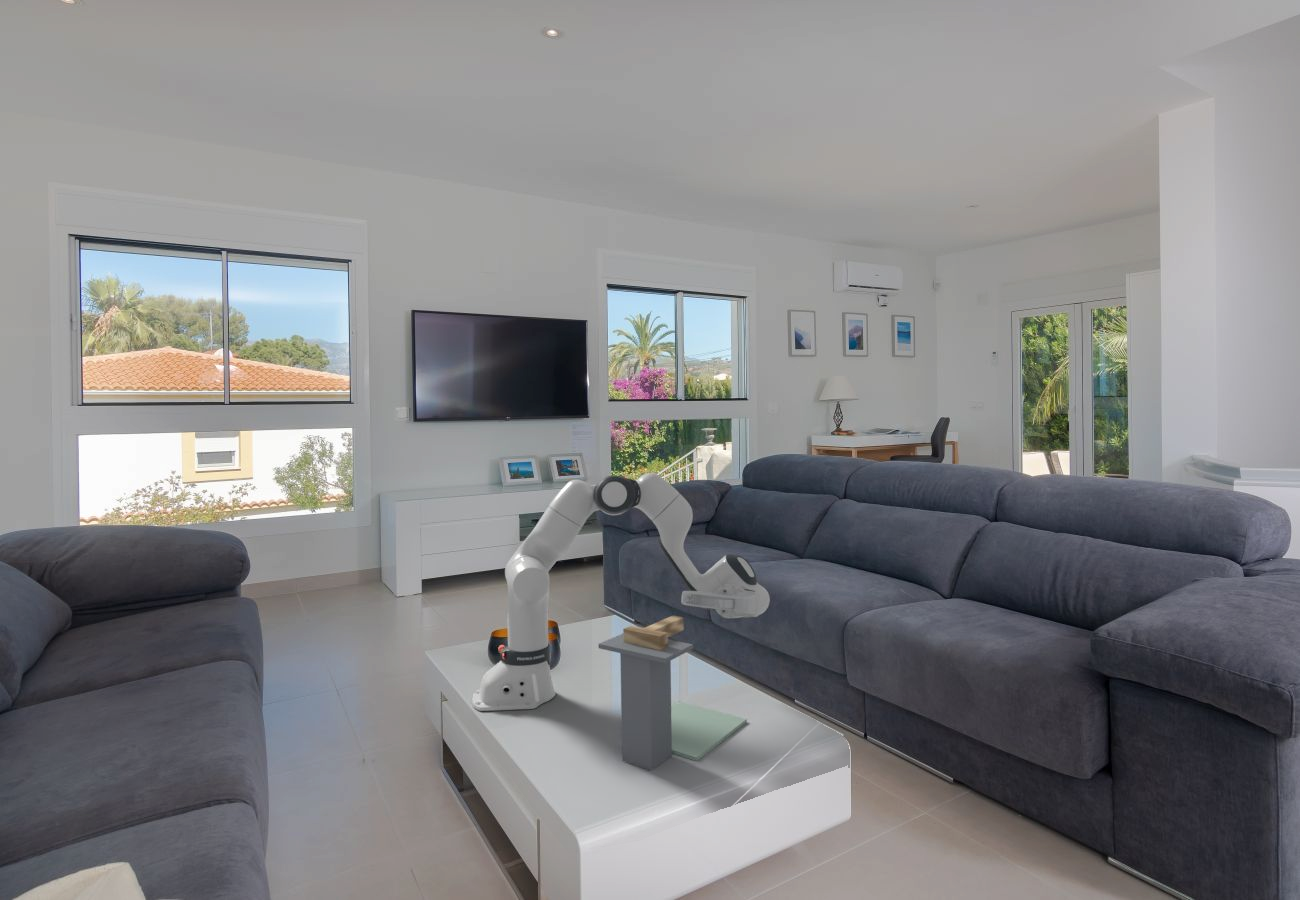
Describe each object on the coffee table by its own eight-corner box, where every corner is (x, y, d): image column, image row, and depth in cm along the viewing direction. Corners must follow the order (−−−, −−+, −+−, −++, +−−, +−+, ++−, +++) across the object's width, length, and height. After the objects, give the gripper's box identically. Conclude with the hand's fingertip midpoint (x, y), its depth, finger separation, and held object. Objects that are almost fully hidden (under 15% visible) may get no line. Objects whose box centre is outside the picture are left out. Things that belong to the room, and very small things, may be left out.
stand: (629, 738, 168) (627, 631, 167) (694, 759, 158) (692, 644, 156) (600, 757, 159) (598, 643, 158) (666, 780, 149) (665, 658, 147)
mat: (679, 704, 188) (679, 701, 188) (746, 722, 176) (746, 718, 176) (625, 738, 168) (625, 735, 168) (696, 761, 157) (696, 757, 157)
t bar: (660, 625, 171) (660, 613, 171) (696, 632, 165) (696, 619, 165) (623, 642, 159) (623, 628, 159) (660, 649, 153) (660, 636, 153)
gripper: (698, 585, 194) (669, 585, 183) (765, 592, 181) (737, 592, 170) (697, 608, 193) (667, 609, 182) (763, 617, 180) (735, 619, 169)
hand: (701, 601), depth 176 cm, fingers open, 8 cm apart
